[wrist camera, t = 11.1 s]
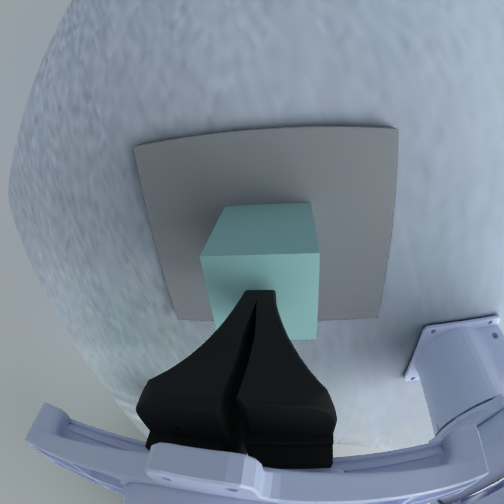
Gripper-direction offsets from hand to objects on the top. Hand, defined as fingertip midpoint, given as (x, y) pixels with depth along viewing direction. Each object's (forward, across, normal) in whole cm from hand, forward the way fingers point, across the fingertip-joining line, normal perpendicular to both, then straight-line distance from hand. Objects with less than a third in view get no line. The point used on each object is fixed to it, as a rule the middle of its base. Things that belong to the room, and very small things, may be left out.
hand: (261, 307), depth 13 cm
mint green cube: (+6, 0, 0) cm, 7 cm away
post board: (+7, 0, 0) cm, 7 cm away
